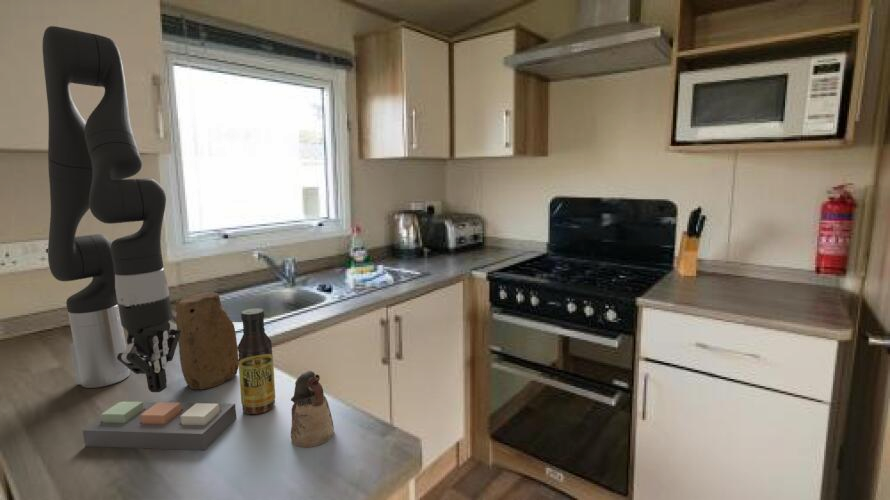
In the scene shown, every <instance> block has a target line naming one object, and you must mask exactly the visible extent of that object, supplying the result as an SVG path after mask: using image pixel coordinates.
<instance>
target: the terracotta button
mask: <svg viewBox="0 0 890 500" xmlns="http://www.w3.org/2000/svg"><path fill="white" fill-rule="evenodd" d="M157 402H158V403H156V404H155V405H154V406H152V407H151V408H149V409H148V410H147V411H145V412H144V413H142V414H141V422H142V424H167V423H168V422H169V421H170V420H172V419H173V418H174V417H175V416H177V415H178V414H179V413H180V412H182V411H181V404H180V403H181V402H180V403H163V402H164V401H157Z"/></svg>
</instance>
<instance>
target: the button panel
mask: <svg viewBox="0 0 890 500" xmlns="http://www.w3.org/2000/svg"><path fill="white" fill-rule="evenodd" d="M126 402H134V401H133V400H132V401H131V400H130V401H129V400H128V401H126ZM142 402H143V409H144V411H142V412H141V413H140V414H138V415H137V416H135V417H134V418H133V419H131V420H130V421H128V422H127V423H103V421H102V417H100V418H99V419H97V420H96V421H94V422H93V423H92V424H90V425H87V427H85V428H84V429H82V435H83V441H84V445H85V447H95V448H97V447H99V448H101V447H102V448H124V449H125V448H128V449H130V448H131V449H134V448H135V449H156V450H157V449H159V450H160V449H161V450H166V449H167V450H188V451H190V450H191V451H196V450H197V451H206V449H208V447H209V446H210V445H212V444H213V443H214V442H215V441H216V440H217V438H218V437H220V436H221V434H222V433H224V432H225V430H227V428H228V427H230V425H232V423H233V422H235V421H236V420H237V412H236V403H227V402H226V403H220V402H219V403H218V402H216V403H215V402H209V403H210V404H219V409H220V413H219V414H218V415H217V416H216V417H215V418H213V419H212V420H211V421H210V422H209V423H208V424H207V425H182V424H181V417H180V416H181V415H182V414H183V413H185V412H186V411H187V410H188V409H190V408H191V407H192V406H193V405H195V404H196V403H197V402H179V401H178V402H173V401H171V402H169V401H167V402H166V401H162V402H163V403H180V404H181V411H182V412H180V413H179V414H178V415H177V416H175V417H174V418H173V419H172V420H170V421H169V422H168V423H167V424H142V422H141V414H142V413H144V412H145V411H147V410H148V409H149V408H151V407H152V406H154V405H155V404H156V403H158V402H159V401H142Z"/></svg>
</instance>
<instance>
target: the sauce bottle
mask: <svg viewBox="0 0 890 500" xmlns="http://www.w3.org/2000/svg"><path fill="white" fill-rule="evenodd" d="M240 314H241V316H240V318H241V321H242V329H243V331H242V333H243V334H242V337H241V339H240V341H239V343H238V344H237V347H238V359H239V360H238V363H239V367H238V376H239V389H240V403H241V405H242V406H241V407H242V411H243V412H244V414H248V415H260V414H263V413H265V412H269V411H271V410H272V409H273V408H274V406H275V404H276V389H275V388H276V387H275V386H276V385H275V370H274V369H275V368H274V356H273V347H272V346H273V345H272V340H271V339H270V337H269V336H268V335H267V333H266V328H265V322H264V318H265V310H264V309H263V308H259V307H257V308H247V309H245V310H242V311H241V313H240Z"/></svg>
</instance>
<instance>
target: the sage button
mask: <svg viewBox="0 0 890 500" xmlns="http://www.w3.org/2000/svg"><path fill="white" fill-rule="evenodd" d="M143 402H144V401H133V402H127V401H119V402H117V403H116V404H114V405H112V406H111V407H110V408H108V409H106V410H105V411H104V412H102V413H101V414H100V415H101V418H102V421H103V423H127V422H128V421H130V420H131V419H133V418H134V417H135V416H137V415H138V414H140V413H141V412H142V411H144V409H143Z"/></svg>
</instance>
